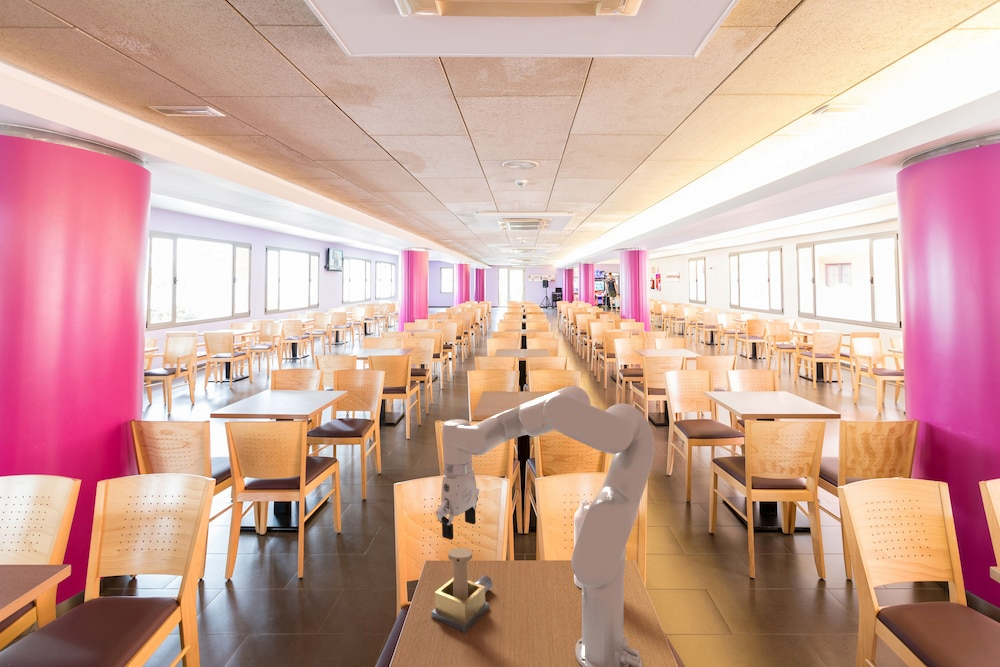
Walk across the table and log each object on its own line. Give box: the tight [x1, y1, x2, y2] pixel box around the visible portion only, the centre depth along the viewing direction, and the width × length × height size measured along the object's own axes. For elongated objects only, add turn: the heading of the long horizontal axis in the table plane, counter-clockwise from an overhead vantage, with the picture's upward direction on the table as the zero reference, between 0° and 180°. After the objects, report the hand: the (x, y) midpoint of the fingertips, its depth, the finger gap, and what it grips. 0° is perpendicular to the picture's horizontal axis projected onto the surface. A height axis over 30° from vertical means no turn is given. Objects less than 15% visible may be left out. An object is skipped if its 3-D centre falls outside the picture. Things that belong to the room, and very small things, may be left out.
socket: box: [431, 574, 493, 633], centre depth 130 cm, size 11×18×6 cm, turn 147°
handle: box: [447, 547, 473, 601], centre depth 127 cm, size 5×6×15 cm
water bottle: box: [573, 499, 591, 589], centre depth 138 cm, size 9×6×25 cm
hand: (459, 530), depth 126 cm, fingers open, 9 cm apart
